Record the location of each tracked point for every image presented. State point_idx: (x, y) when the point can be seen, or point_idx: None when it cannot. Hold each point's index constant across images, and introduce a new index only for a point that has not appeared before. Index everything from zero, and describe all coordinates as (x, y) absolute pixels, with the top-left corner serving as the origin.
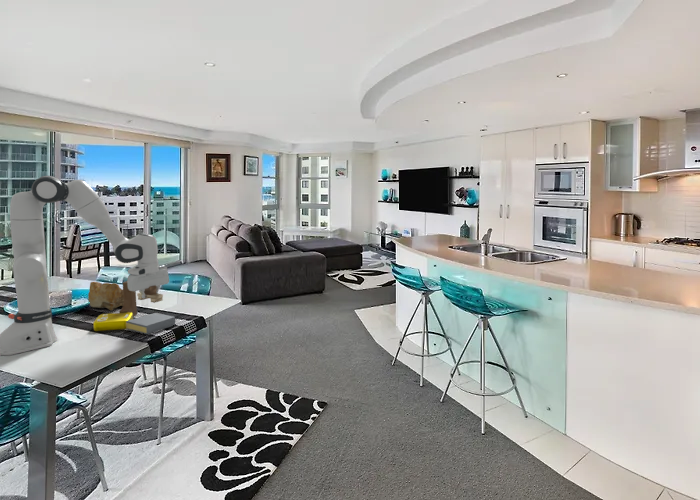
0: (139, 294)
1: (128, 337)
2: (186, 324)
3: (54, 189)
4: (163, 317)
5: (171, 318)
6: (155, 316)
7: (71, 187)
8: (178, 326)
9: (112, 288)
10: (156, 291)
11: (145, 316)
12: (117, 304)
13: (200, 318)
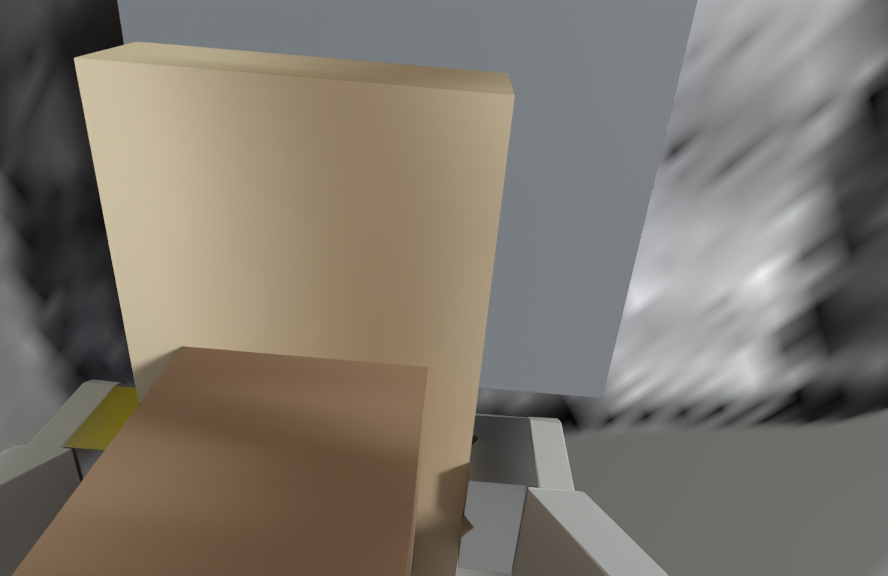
0: (119, 183)
1: (38, 219)
2: (641, 417)
3: None
4: (526, 294)
5: (544, 390)
6: (518, 160)
7: None
8: (554, 395)
9: None
10: (518, 574)
11: (447, 11)
12: None
13: (882, 408)
